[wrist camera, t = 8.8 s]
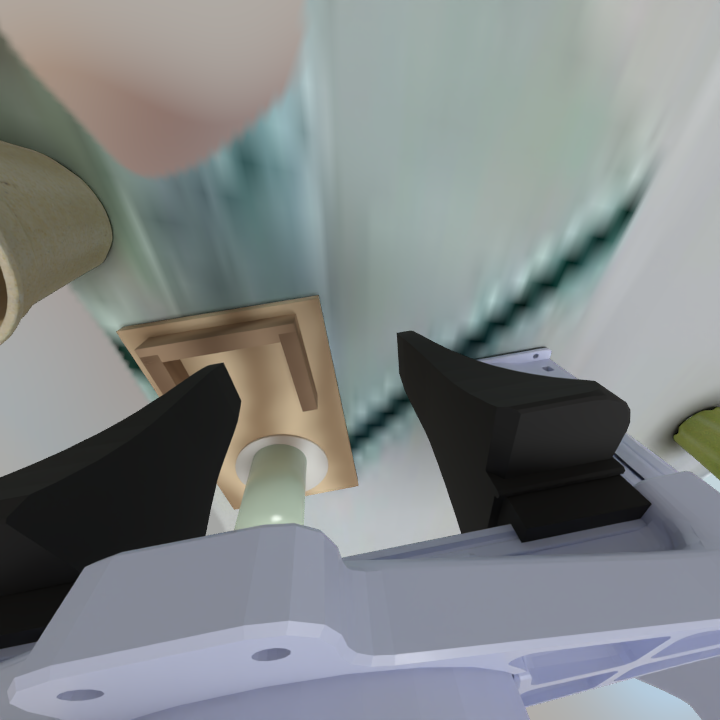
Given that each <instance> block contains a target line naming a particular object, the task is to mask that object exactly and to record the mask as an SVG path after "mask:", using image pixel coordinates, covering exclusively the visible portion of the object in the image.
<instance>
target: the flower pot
mask: <svg viewBox="0 0 720 720" xmlns="http://www.w3.org/2000/svg"><path fill="white" fill-rule="evenodd" d="M112 239H113V237H112V230H111V225H110V222H109V219H108V216H107V214H106V211H105V209H104V207H103V206H102V204H101V202H100V201H99V200H98V198H97V197H96V195H95V194H94V193H93V191H92V190H91V189H90V188H89V187H88V186H87V184H86V183H85V182H84V181H83V180H82V179H80V178H79V177H78V176H76V175H75V174H74V173H72V172H71V171H69V170H68V169H66V168H65V167H64V166H62V165H61V164H59V163H58V162H56V161H55V160H53V159H51V158H49V157H48V156H46V155H44V154H42V153H39V152H37V151H34V150H31V149H28V148H24V147H20V146H17V145H13V144H10V143H7V142H4V141H0V345H1V344H2V343H4V341H6V340H7V339H8V338H9V337H10V336H11V335H12V334H13V332H14V331H15V329H16V328H17V326H18V324H19V322H20V320H21V319H22V317H24V316H25V315H26V313H27V312H28V311H29V309H30V308H31V307H32V305H34V304H35V303H37V302H38V301H40V300H42V299H43V298H45V297H47V296H48V295H50V294H52V293H53V292H55V291H56V290H58V289H60V288H61V287H63V286H65V285H66V284H68V283H70V282H71V281H73V280H75V279H76V278H78V277H80V276H81V275H83V274H85V273H86V272H88V271H90V270H91V269H93V268H95V267H97V266H99V265H100V264H101V263H103V262H104V260H105V258H106V256H107V254H108V251H109V249H110V246H111V243H112Z"/></svg>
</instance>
